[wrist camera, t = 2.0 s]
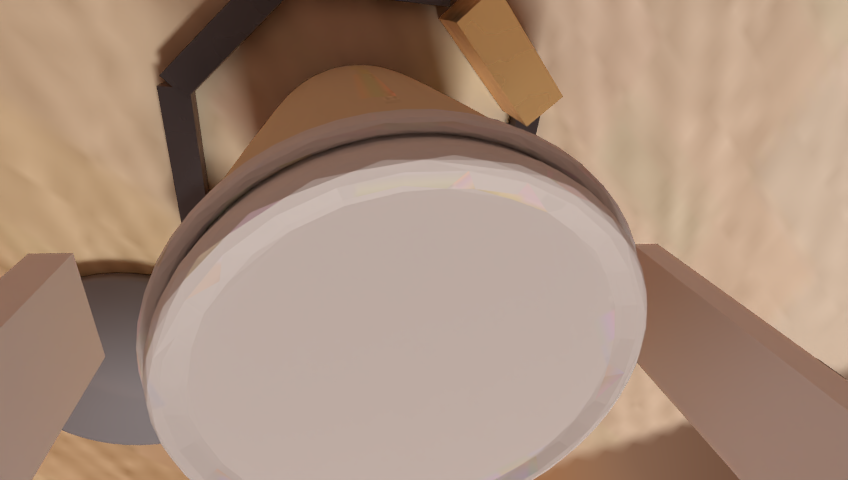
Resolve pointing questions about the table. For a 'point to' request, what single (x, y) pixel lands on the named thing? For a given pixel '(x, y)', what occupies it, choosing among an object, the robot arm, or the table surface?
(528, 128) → the socket ring
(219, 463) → the coffee cup
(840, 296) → the table surface
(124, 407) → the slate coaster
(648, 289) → the robot arm
